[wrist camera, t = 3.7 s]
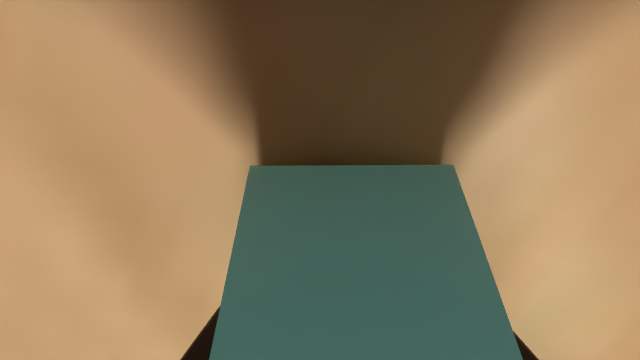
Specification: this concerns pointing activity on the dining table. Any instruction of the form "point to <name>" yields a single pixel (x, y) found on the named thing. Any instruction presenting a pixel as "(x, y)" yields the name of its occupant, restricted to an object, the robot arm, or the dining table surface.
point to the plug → (359, 269)
